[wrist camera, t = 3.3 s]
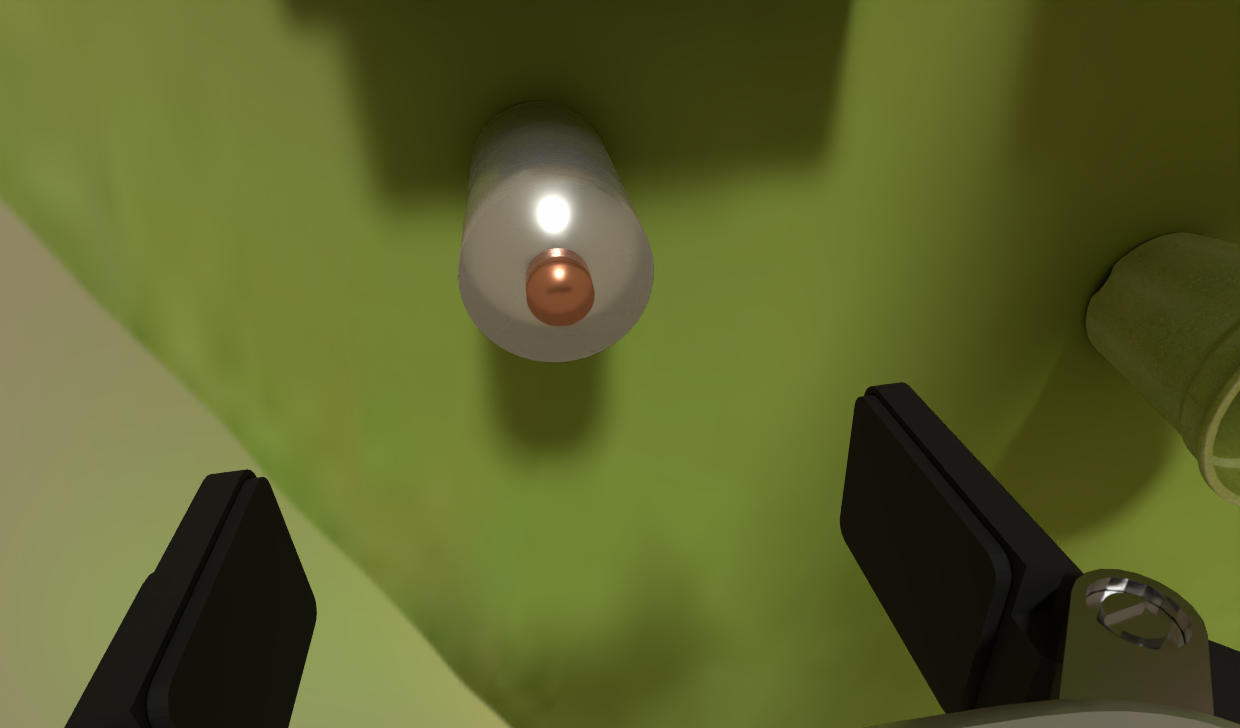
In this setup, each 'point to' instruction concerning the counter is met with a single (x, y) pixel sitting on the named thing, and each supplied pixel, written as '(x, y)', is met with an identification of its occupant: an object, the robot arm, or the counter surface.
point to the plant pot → (1180, 342)
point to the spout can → (550, 238)
